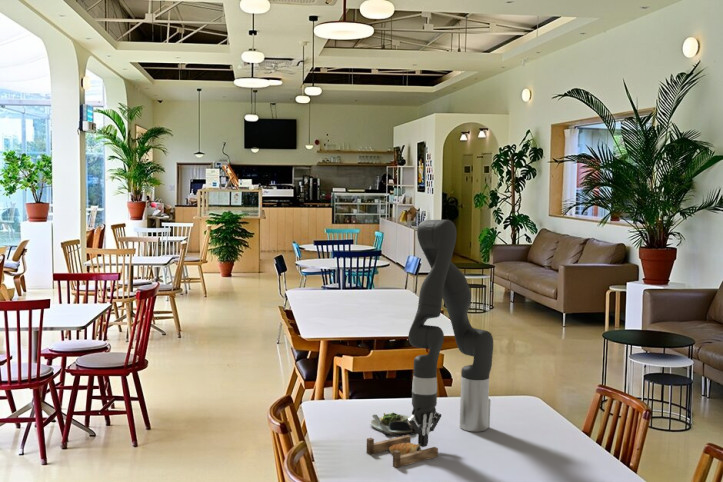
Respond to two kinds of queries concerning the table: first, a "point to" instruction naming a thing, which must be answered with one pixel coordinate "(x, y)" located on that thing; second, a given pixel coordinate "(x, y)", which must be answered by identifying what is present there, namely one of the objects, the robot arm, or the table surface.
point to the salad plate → (392, 424)
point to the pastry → (405, 448)
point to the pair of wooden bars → (398, 459)
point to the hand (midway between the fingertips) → (422, 446)
